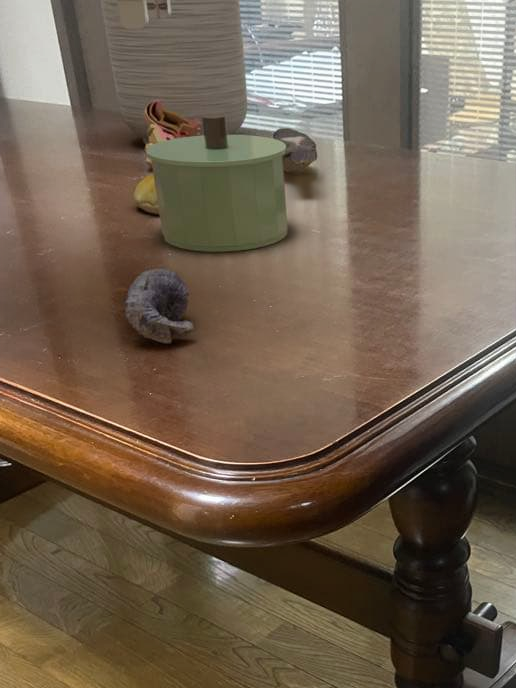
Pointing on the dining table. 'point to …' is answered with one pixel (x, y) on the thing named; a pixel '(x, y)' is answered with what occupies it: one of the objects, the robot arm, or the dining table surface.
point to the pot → (221, 205)
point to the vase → (180, 63)
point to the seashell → (158, 305)
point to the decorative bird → (296, 150)
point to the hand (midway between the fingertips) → (148, 23)
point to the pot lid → (216, 147)
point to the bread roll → (147, 195)
